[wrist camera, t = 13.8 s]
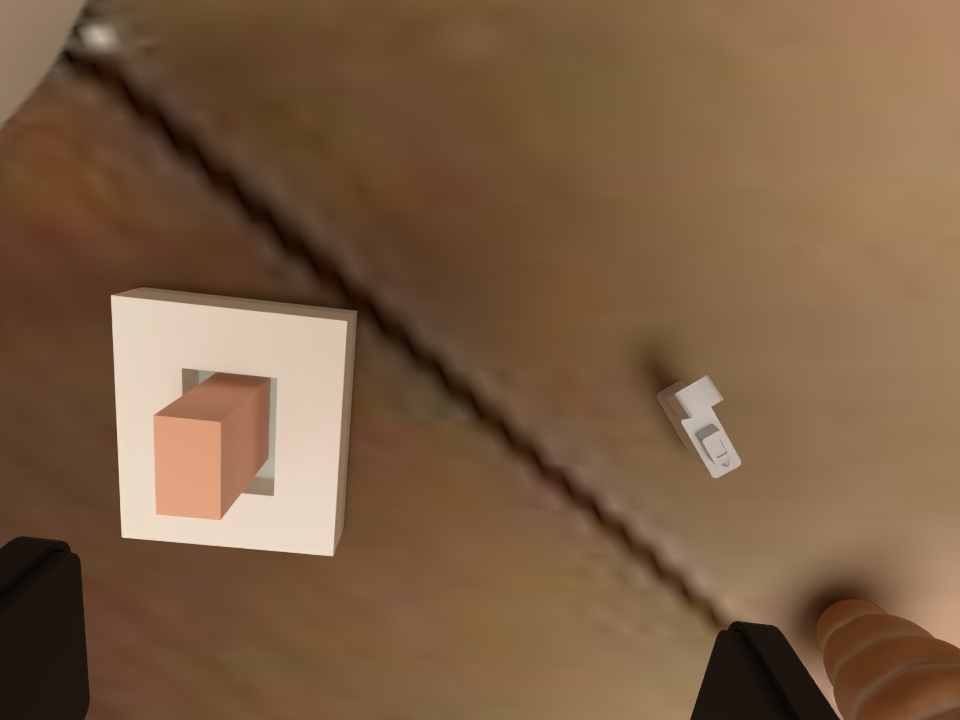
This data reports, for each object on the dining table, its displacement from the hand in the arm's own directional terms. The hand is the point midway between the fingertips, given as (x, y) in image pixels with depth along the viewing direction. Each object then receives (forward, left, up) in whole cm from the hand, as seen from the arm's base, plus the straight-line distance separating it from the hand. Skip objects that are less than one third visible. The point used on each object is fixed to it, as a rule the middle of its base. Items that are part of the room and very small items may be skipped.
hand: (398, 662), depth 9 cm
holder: (+7, -11, -26) cm, 29 cm away
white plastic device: (+3, +14, -26) cm, 30 cm away
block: (+7, -11, -25) cm, 28 cm away
